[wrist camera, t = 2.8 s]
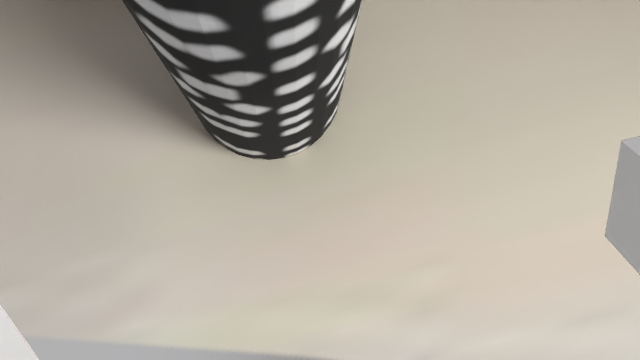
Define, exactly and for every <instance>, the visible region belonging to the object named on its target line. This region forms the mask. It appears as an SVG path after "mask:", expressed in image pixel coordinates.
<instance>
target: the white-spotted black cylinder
mask: <svg viewBox="0 0 640 360" xmlns="http://www.w3.org/2000/svg"><path fill="white" fill-rule="evenodd" d="M122 1H123V2H124V4H125V5H126V7H127V8H128V10H129V11H130V13H131V14H132V16H133V17H134V19H135V21H136V22H137V24H138V25H139V27H140V28H141V30H142V31H143V33H144V34H145V36H146V37H147V39H148V41H149V42H150V44H151V45H152V47H153V48H154V50H155V51H156V53H157V54H158V56H159V57H160V59H161V60H162V62H163V64H164V65H165V67H166V68H167V70H168V71H169V73H170V74H171V76H172V77H173V79H174V80H175V82H176V84H177V85H178V87H179V88H180V90H181V91H182V93H183V94H184V96H185V97H186V99H187V100H188V102H189V104H190V105H191V107H192V108H193V110H194V111H195V113H196V114H197V116H198V117H199V119H200V120H201V122H202V124H203V125H204V127H205V128H206V130H207V131H208V132H209V133H210V134H211V135H212V136H213V137H214V139H215V140H216V141H218V142H219V143H220V144H222V145H223V146H224V147H226V148H227V149H229V150H231V151H233V152H235V153H237V154H239V155H242V156H246V157H250V158H254V159H267V160H270V159H278V158H285V157H288V156H291V155H294V154H296V153H299V152H301V151H302V150H304V149H306V148H308V147H309V146H311V145H312V144H313V143H314V142H315V141H317V140H318V139H319V138H320V137H321V136H322V135H323V134H324V132H325V131H326V130H327V128H328V127H329V126H330V124H331V122H332V120H333V118H334V116H335V114H336V111H337V108H338V104H339V100H340V96H341V91H342V87H343V82H344V78H345V73H346V69H347V64H348V60H349V56H350V51H351V47H352V42H353V38H354V33H355V29H356V24H357V20H358V15H359V11H360V6H361V2H362V0H122Z"/></svg>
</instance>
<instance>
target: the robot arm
mask: <svg viewBox="0 0 640 360" xmlns="http://www.w3.org/2000/svg"><path fill="white" fill-rule="evenodd" d="M605 237H606V238H607V239H608V240H609V241H610V242H611V243H612V244H613V246H614V247H615V248H616V249H617V250H618V251H619V252H620V253H621V254H622V256H623V257H624V258H625V259H626V260H627V261H628V262H629V263H630V264H631V265H632V267H633V268H634V269H635V270H636V271H637V272H638V273H639V274H640V136H638V137H634V138H630V139H626V140H622V141H621V145H620V151H619V157H618V163H617V169H616V174H615V180H614V186H613V192H612V197H611V203H610V209H609V215H608V220H607V226H606V232H605ZM0 360H39V358H38V357H37V356H36V354H35V353H34V351H33V350H32V349H31V347H30V346H29V344H28V343H27V342H26V340H25V339H24V337H23V336H22V335H21V333H20V332H19V330H18V329H17V328H16V326H15V325H14V323H13V322H12V321H11V319H10V318H9V316H8V315H7V314H6V312H5V311H4V309H3V308H2V307H1V305H0Z"/></svg>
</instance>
